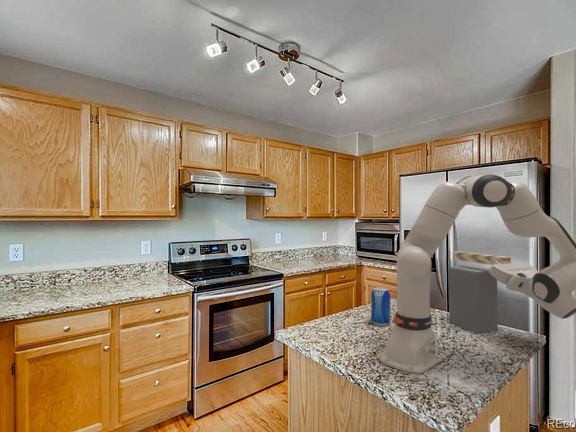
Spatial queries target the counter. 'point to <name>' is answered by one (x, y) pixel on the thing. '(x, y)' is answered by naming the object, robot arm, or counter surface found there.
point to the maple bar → (480, 258)
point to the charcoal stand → (473, 299)
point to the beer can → (380, 306)
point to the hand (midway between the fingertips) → (496, 259)
